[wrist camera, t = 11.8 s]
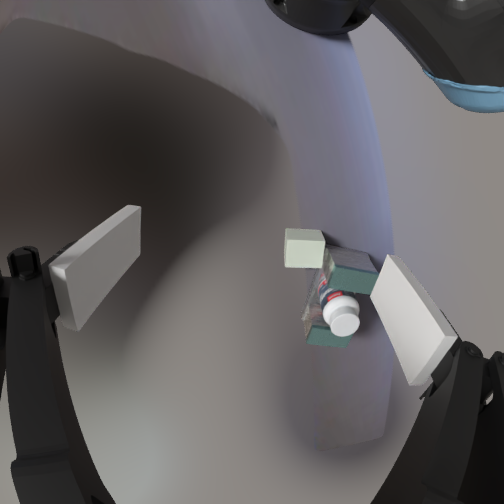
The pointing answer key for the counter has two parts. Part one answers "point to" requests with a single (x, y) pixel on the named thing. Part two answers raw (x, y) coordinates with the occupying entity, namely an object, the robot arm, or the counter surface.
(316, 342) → the teal white block
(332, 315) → the pill bottle
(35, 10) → the counter surface
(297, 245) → the block
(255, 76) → the counter surface
